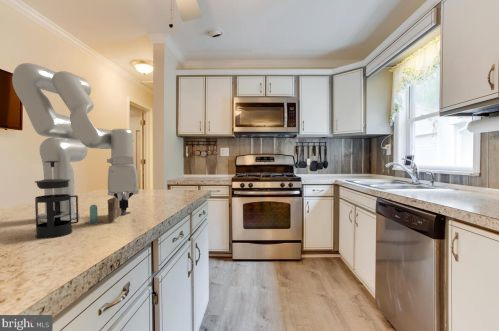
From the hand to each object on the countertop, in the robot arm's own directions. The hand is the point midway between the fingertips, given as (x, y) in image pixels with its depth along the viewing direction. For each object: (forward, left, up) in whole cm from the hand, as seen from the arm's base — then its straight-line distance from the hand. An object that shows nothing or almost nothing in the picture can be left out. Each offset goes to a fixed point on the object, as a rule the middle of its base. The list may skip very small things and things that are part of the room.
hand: (124, 210), depth 102 cm
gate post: (-11, +6, -4) cm, 13 cm away
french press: (-1, -22, -4) cm, 22 cm away
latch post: (-6, -8, -4) cm, 11 cm away
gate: (-5, 0, -3) cm, 6 cm away
